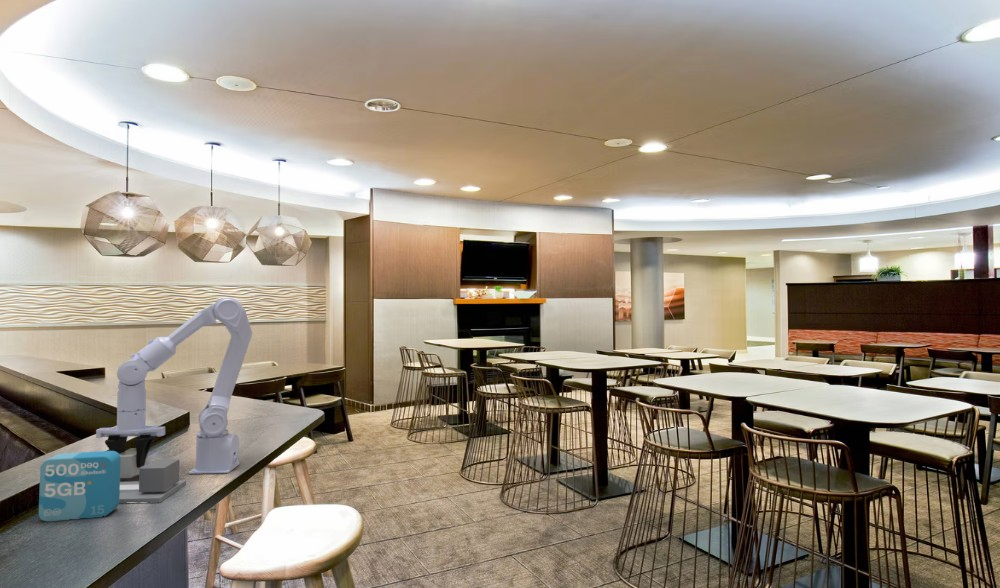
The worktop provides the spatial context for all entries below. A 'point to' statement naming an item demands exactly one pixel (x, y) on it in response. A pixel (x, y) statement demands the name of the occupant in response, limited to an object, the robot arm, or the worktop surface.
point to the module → (129, 463)
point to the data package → (79, 485)
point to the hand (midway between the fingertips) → (130, 466)
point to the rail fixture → (153, 483)
